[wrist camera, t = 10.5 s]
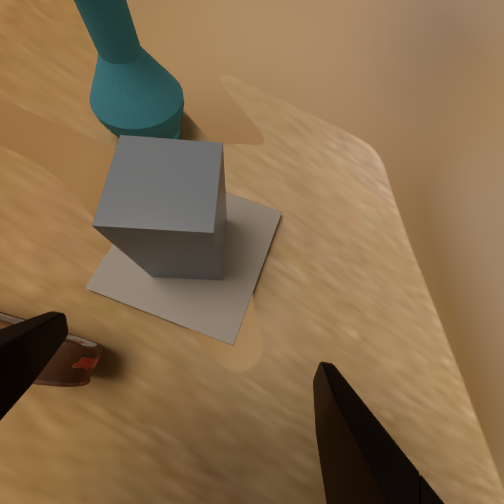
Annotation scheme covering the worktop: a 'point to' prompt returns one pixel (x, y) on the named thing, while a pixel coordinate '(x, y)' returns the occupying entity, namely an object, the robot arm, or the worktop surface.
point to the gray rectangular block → (167, 206)
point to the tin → (65, 359)
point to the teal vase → (129, 76)
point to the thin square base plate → (197, 290)
